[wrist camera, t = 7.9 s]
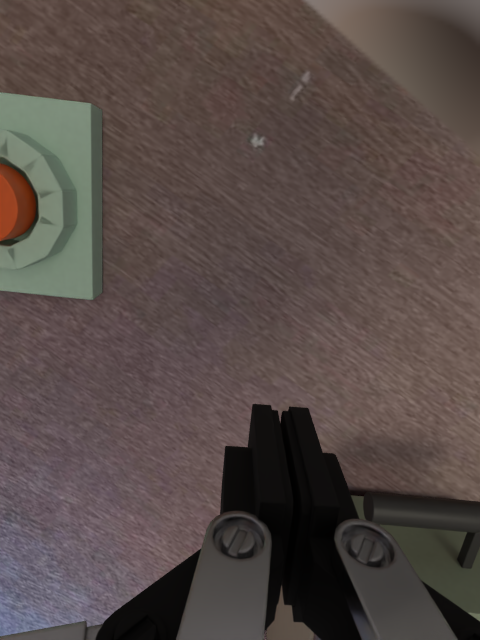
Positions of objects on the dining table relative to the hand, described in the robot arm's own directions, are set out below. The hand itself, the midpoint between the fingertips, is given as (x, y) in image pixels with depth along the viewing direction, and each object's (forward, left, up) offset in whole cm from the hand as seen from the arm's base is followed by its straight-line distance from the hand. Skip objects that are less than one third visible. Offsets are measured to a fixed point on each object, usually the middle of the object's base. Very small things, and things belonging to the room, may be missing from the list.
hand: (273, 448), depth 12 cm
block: (-5, -13, -13) cm, 20 cm away
